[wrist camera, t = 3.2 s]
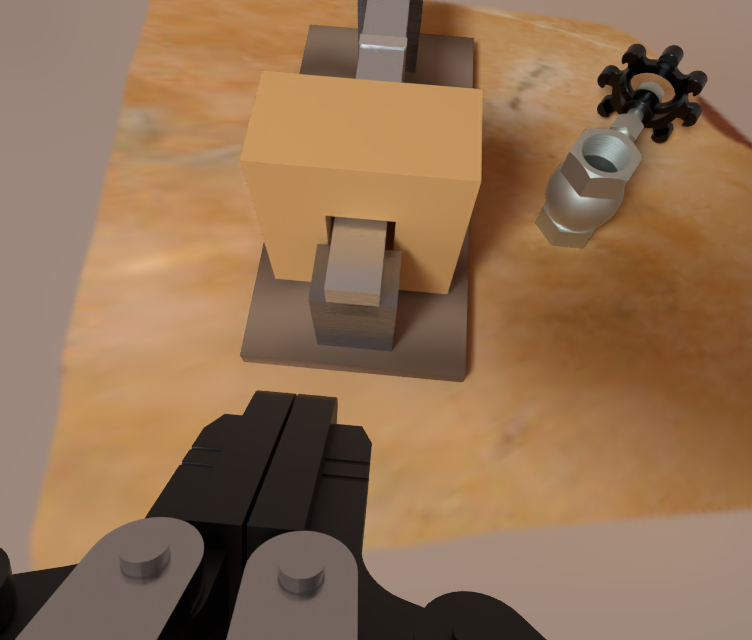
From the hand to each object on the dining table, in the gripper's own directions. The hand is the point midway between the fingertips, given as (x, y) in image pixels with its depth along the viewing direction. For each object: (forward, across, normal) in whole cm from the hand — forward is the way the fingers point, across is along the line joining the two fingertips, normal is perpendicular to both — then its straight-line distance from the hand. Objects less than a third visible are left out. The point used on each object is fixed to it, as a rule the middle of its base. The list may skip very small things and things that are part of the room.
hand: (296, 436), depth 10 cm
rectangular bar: (+26, 0, -3) cm, 27 cm away
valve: (+28, -14, -3) cm, 32 cm away
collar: (+22, 0, +1) cm, 22 cm away
